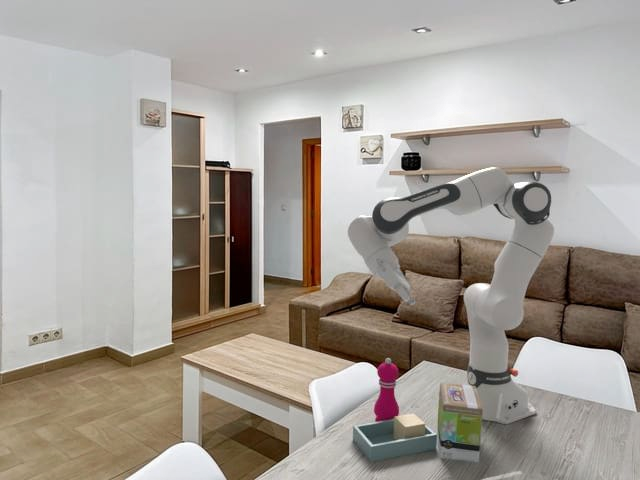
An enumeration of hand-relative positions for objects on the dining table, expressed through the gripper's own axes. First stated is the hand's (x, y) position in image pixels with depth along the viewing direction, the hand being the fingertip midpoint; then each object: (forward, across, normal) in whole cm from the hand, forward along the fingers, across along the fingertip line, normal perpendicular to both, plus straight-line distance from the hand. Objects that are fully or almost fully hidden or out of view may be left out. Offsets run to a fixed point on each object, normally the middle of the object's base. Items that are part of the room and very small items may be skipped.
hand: (410, 302), depth 135 cm
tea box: (+38, +3, +12) cm, 40 cm away
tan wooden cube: (+30, 0, +22) cm, 37 cm away
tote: (+29, -3, +26) cm, 39 cm away
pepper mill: (+24, +7, +27) cm, 37 cm away
